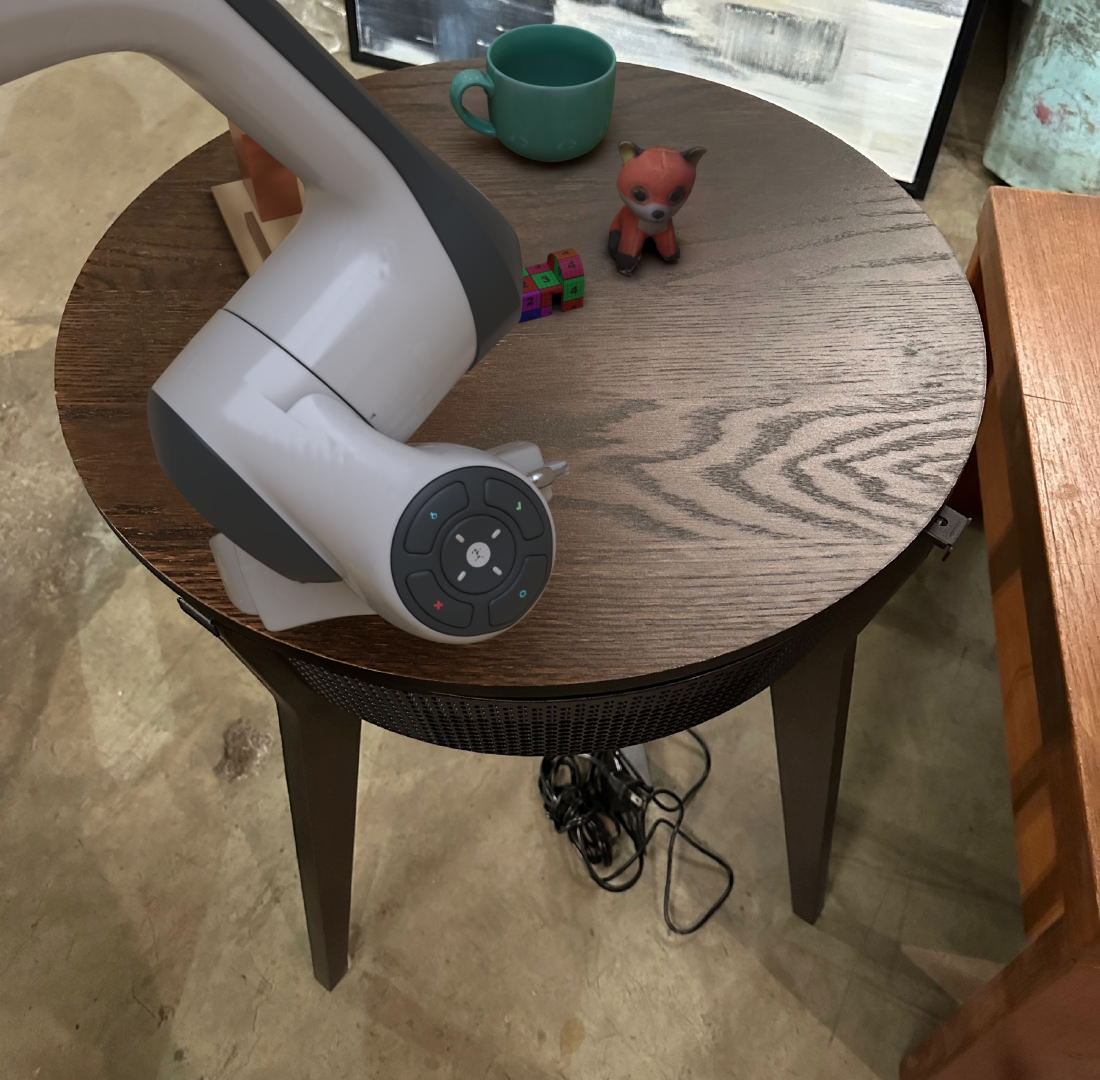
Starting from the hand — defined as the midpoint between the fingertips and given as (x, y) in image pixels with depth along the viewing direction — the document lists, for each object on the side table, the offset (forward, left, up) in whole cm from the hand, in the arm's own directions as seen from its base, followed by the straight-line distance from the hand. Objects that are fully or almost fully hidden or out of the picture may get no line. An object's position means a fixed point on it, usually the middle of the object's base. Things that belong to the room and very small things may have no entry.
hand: (367, 509), depth 68 cm
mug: (+19, +52, -7) cm, 56 cm away
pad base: (-6, +40, -7) cm, 41 cm away
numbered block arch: (+15, +28, -7) cm, 33 cm away
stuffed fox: (+27, +34, -7) cm, 44 cm away
